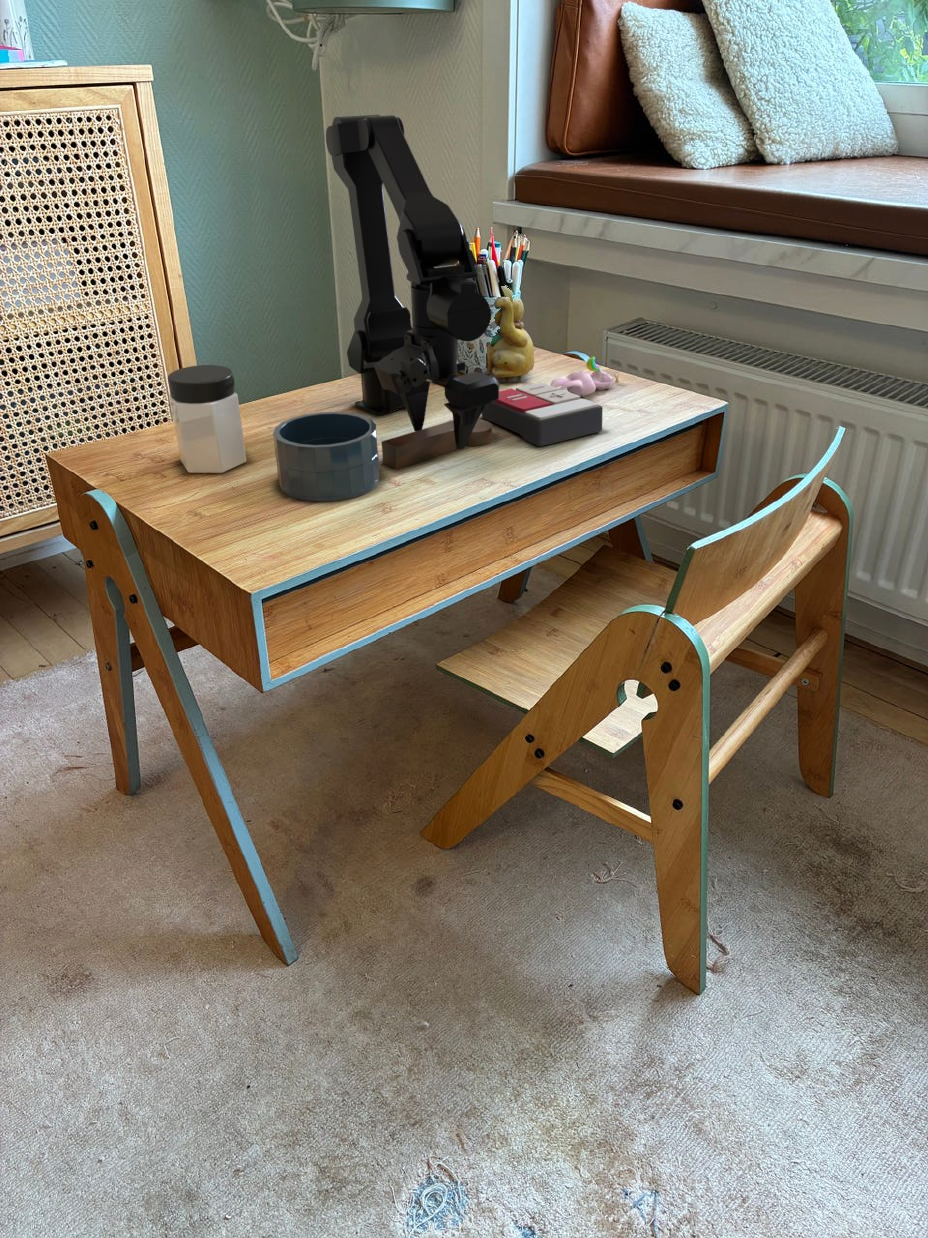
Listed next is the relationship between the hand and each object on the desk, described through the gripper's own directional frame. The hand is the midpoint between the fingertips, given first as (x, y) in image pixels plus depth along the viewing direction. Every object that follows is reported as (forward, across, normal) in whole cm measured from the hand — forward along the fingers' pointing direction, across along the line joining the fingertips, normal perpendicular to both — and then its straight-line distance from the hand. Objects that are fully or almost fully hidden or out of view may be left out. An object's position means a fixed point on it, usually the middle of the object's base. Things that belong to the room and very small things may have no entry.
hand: (438, 439), depth 133 cm
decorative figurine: (+2, -18, +29) cm, 34 cm away
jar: (+2, -17, -25) cm, 30 cm away
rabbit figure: (+2, -3, +31) cm, 31 cm away
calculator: (+2, +2, +17) cm, 17 cm away
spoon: (+2, 0, 0) cm, 2 cm away
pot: (+2, -1, -17) cm, 17 cm away
